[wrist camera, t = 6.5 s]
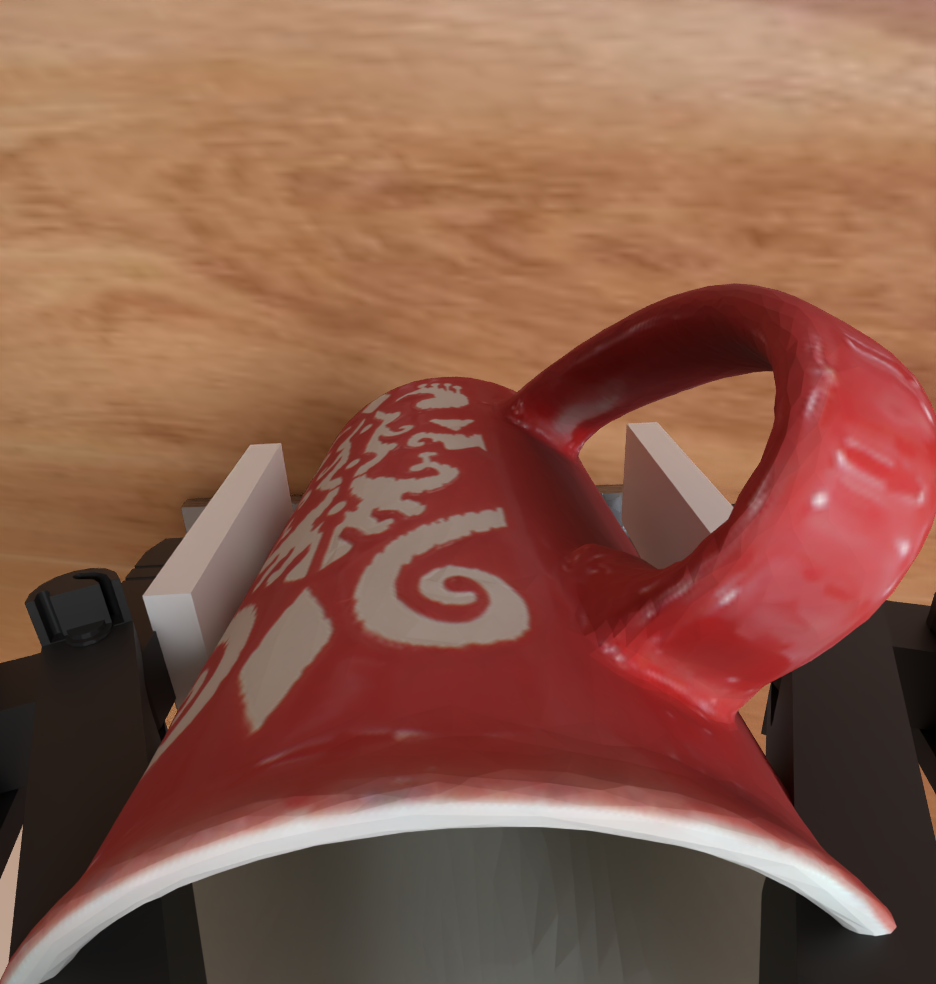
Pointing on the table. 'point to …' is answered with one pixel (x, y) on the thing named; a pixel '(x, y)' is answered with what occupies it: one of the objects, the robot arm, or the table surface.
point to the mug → (526, 682)
